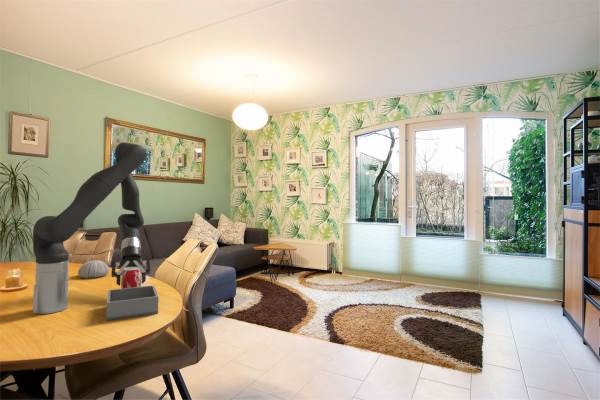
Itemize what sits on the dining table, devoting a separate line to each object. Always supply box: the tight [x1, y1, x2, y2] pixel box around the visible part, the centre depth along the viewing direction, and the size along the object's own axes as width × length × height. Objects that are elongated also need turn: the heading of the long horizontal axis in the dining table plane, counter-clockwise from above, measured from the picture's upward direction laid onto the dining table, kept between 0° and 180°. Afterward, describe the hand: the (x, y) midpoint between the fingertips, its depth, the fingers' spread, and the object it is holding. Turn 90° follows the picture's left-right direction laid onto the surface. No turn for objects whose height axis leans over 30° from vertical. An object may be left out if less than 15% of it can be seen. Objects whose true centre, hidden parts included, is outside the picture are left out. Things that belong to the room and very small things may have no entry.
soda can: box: [120, 267, 142, 289], centre depth 127 cm, size 7×7×12 cm
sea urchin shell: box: [77, 259, 110, 279], centre depth 158 cm, size 13×14×8 cm
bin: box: [105, 285, 159, 322], centre depth 114 cm, size 16×16×6 cm
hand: (131, 283), depth 125 cm, fingers open, 8 cm apart
